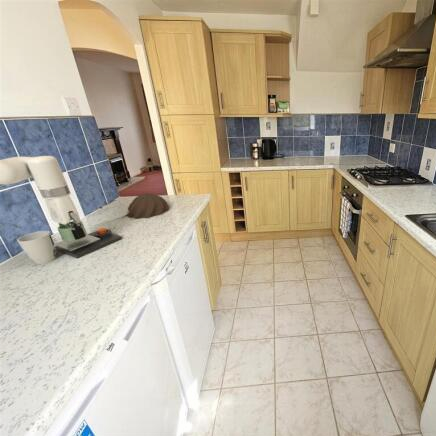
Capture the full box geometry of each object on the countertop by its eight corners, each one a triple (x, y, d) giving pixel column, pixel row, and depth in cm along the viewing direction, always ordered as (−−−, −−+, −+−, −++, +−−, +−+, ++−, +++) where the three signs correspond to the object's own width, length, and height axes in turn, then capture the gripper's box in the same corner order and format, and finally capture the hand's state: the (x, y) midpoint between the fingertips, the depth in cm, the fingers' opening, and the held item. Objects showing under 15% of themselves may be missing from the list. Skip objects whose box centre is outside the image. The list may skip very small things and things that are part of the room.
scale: (56, 249, 95) (52, 243, 94) (101, 232, 108) (99, 226, 107) (77, 258, 88) (74, 251, 87) (123, 239, 102) (121, 232, 100)
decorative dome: (138, 206, 138) (133, 189, 134) (174, 204, 140) (170, 187, 136) (120, 219, 121) (113, 201, 117) (161, 217, 122) (156, 198, 118)
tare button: (96, 233, 101) (95, 230, 100) (104, 230, 103) (103, 227, 103) (100, 235, 100) (99, 231, 99) (108, 232, 102) (107, 228, 101)
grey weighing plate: (53, 244, 92) (53, 244, 92) (83, 233, 101) (83, 233, 100) (70, 251, 87) (69, 250, 87) (100, 239, 96) (99, 238, 95)
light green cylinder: (81, 232, 98) (76, 219, 96) (91, 235, 95) (86, 222, 93) (59, 240, 92) (53, 227, 90) (69, 243, 89) (63, 230, 87)
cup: (64, 257, 89) (53, 233, 85) (35, 269, 83) (21, 243, 79) (56, 252, 93) (44, 228, 89) (27, 262, 87) (13, 238, 83)
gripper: (30, 192, 86) (51, 236, 93) (54, 198, 79) (75, 245, 86) (56, 186, 93) (74, 228, 100) (81, 191, 85) (98, 236, 92)
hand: (74, 235), depth 93 cm, fingers closed on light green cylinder, 7 cm apart
